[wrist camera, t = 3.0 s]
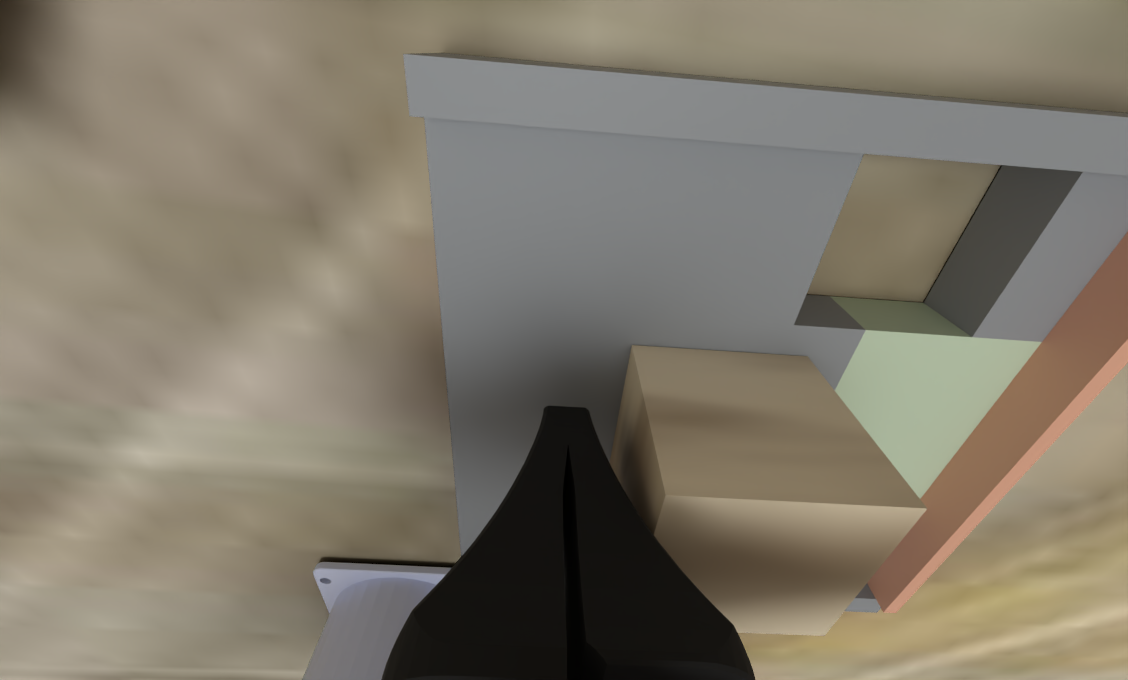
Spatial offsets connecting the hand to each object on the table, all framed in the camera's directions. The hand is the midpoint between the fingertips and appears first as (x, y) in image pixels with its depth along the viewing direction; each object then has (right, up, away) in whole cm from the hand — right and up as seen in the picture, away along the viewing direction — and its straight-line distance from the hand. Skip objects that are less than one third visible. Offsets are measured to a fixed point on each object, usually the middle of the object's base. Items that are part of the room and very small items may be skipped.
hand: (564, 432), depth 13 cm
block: (+4, 0, +1) cm, 4 cm away
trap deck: (+5, +1, +3) cm, 6 cm away
